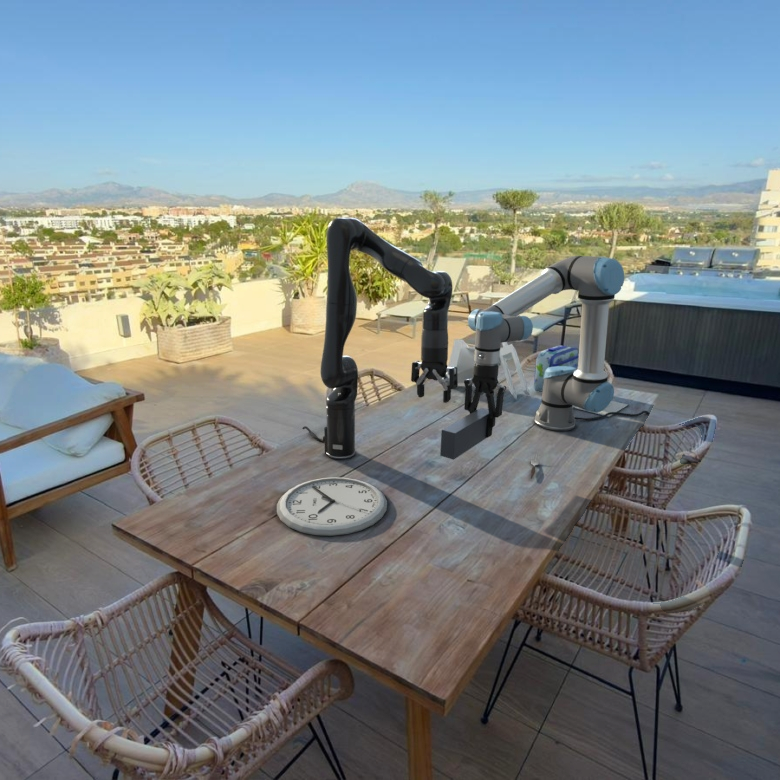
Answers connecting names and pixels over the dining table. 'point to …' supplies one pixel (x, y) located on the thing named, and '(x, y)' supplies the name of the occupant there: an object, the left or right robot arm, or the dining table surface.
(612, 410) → the invitation card
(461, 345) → the white plastic object
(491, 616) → the dining table surface
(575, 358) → the lunch box
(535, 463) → the fork
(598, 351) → the right robot arm
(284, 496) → the wall clock
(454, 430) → the bar
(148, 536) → the dining table surface
